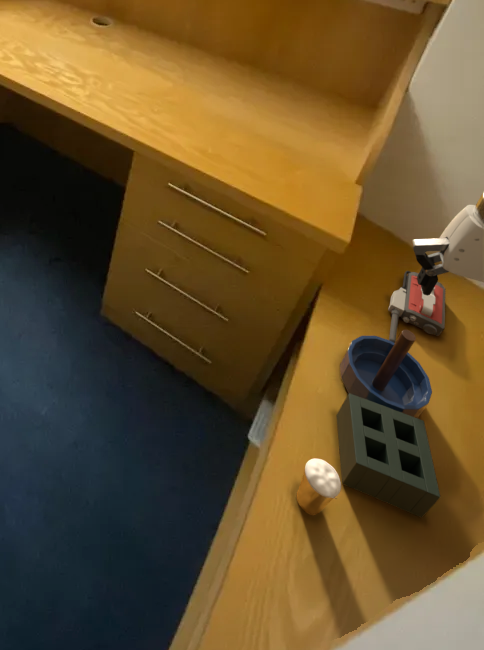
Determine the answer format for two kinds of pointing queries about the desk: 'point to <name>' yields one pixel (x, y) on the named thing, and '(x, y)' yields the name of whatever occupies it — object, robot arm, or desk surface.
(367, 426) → the holder
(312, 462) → the beer glass
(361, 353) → the bowl
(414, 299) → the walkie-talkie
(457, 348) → the desk surface
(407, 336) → the stick
